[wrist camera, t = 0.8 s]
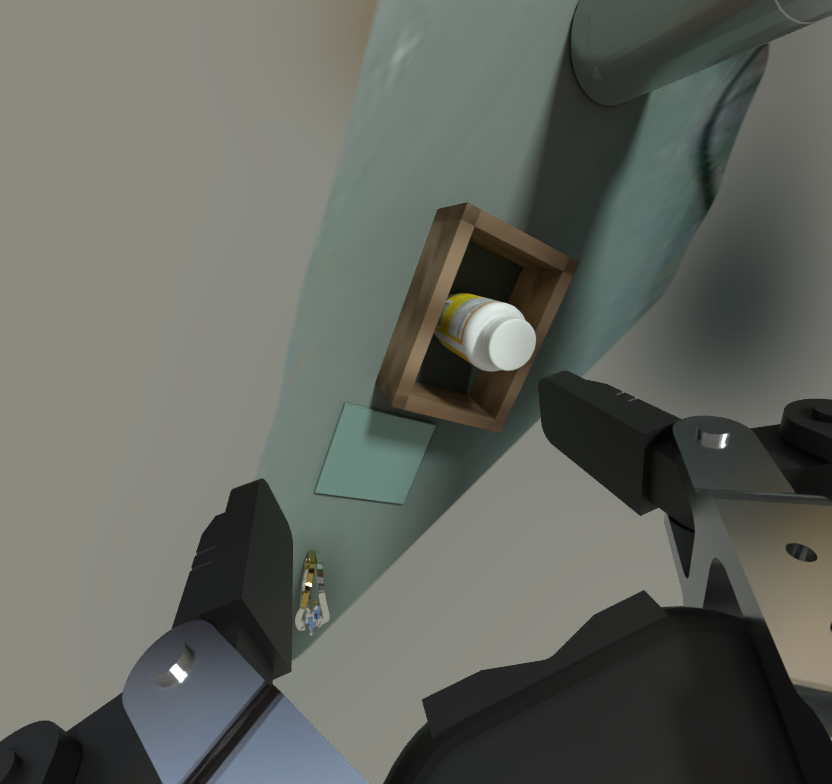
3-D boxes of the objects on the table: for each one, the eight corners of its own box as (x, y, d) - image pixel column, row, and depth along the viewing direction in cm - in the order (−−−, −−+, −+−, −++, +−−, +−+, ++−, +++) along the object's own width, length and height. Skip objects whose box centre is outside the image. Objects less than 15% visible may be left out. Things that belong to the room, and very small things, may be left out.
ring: (301, 533, 40) (303, 597, 32) (330, 535, 41) (339, 596, 34) (287, 584, 41) (286, 655, 34) (316, 584, 43) (321, 652, 36)
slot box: (437, 209, 32) (467, 202, 27) (537, 259, 36) (579, 262, 31) (375, 382, 36) (390, 406, 31) (472, 408, 40) (500, 433, 35)
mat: (344, 402, 36) (344, 404, 35) (434, 423, 40) (435, 425, 39) (314, 489, 38) (314, 492, 38) (402, 501, 42) (403, 504, 42)
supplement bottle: (485, 339, 38) (547, 369, 29) (435, 354, 37) (483, 391, 28) (479, 284, 36) (544, 298, 27) (425, 299, 34) (474, 319, 25)
